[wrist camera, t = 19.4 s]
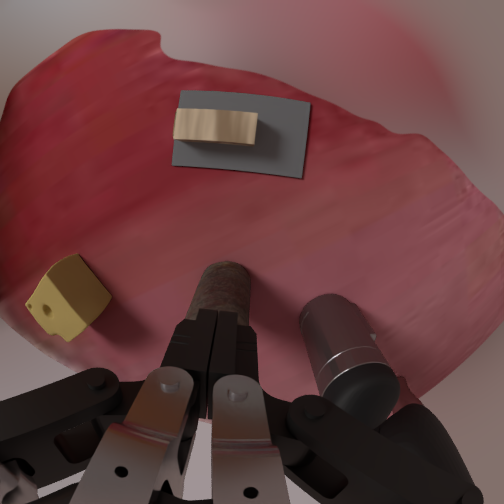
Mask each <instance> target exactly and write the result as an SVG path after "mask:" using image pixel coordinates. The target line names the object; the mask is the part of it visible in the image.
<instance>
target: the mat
mask: <svg viewBox="0 0 504 504" xmlns="http://www.w3.org/2000/svg"><path fill="white" fill-rule="evenodd" d="M178 108H184V109H214V110H229V111H242V112H252V113H258V117H257V125H256V134H255V142H254V147H253V146H243V145H232V144H220V143H205V142H184V141H178V140H175V139H174V148H173V157H172V165H174V166H192V167H206V168H218V169H230V170H240V171H249V172H258V173H266V174H274V175H282V176H289V177H296V178H302V172H303V164H304V156H305V148H306V140H307V131H308V122H309V113H310V103H308V102H303V101H297V100H291V99H285V98H278V97H271V96H263V95H255V94H245V93H233V92H218V91H181V94H180V100H179V107H178Z"/></svg>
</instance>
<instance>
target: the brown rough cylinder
mask: <svg viewBox="0 0 504 504" xmlns="http://www.w3.org/2000/svg"><path fill="white" fill-rule="evenodd" d="M250 285H251V281H250V277H249V275H248V273H247V272H246V270H245V269H244V268H243V267H242V266H241V265H239V264H238V263H235V262H230V261H225V262H218V263H215V264H212V265H210V266H209V267H208V268H207V269H206V270H205V272H204V273H203V275H202V277H201V280H200V282H199V284H198V287H197V289H196V292H195V294H194V297H193V299H192V302H191V304H190V307H189V309H188V312H187V315H186V317H185V319H190V320H196V317H197V314H198V311H199V308H203V309H211V310H218V316H219V311H220V310H221V311H230V312H238V322H237V325H244V326H249V306H250Z"/></svg>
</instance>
